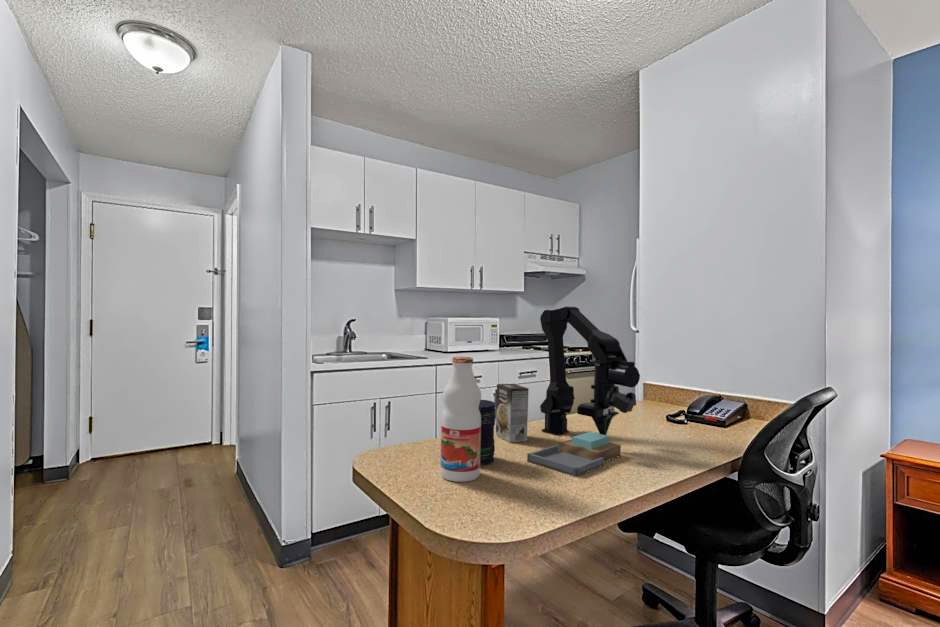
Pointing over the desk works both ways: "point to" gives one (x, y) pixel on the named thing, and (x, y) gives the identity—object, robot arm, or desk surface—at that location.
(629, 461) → the desk surface
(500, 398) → the coffee box
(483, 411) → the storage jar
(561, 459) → the tray
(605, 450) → the deck
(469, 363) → the fruit juice
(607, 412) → the robot arm
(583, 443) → the teal sponge
